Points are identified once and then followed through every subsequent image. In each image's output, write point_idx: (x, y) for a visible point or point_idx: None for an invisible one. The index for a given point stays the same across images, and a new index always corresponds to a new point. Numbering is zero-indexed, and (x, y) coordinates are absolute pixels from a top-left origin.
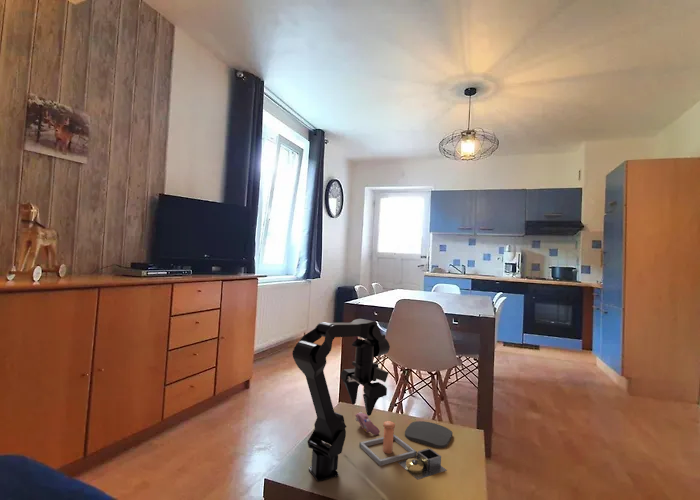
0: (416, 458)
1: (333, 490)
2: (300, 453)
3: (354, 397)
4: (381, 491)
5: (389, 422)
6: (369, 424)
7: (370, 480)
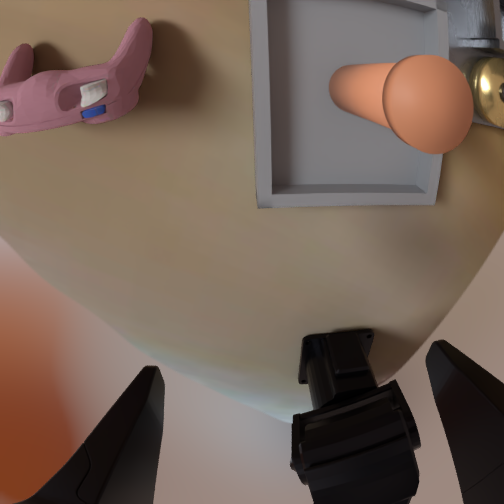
0: (451, 23)
1: (406, 350)
2: (208, 377)
3: (148, 430)
4: (483, 250)
5: (420, 85)
6: (126, 89)
7: (440, 255)
